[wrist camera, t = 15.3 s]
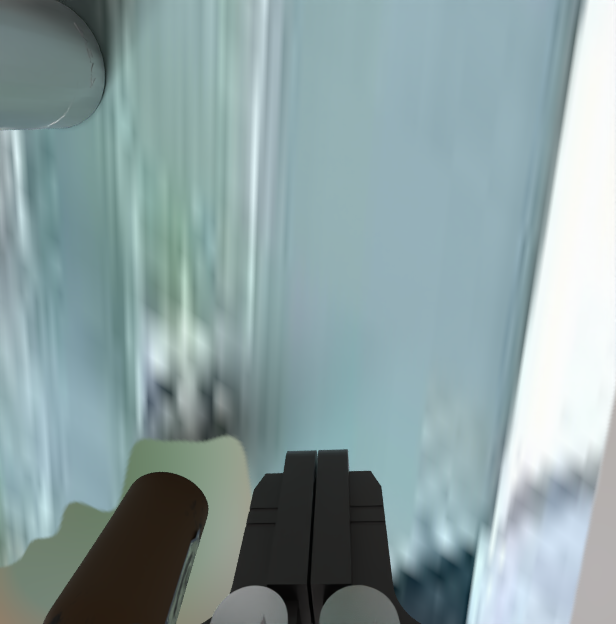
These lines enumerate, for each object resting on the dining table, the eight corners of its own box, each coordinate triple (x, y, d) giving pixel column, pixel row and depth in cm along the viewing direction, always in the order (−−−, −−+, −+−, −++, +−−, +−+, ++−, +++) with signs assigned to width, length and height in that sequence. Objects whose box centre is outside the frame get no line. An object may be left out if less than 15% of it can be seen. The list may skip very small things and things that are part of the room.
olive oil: (112, 514, 55) (-56, 800, 32) (140, 452, 51) (-30, 726, 28) (195, 549, 56) (90, 848, 33) (228, 490, 52) (135, 784, 29)
